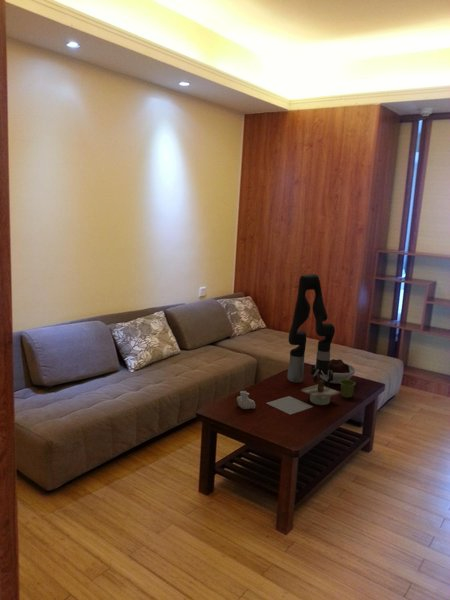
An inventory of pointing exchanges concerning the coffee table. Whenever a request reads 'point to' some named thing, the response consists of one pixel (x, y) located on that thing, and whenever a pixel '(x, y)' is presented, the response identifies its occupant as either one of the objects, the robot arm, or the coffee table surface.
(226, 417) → the coffee table surface
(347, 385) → the plant pot
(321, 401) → the bowl
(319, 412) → the coffee table surface
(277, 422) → the coffee table surface
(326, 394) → the cover board
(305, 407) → the tray
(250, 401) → the bust
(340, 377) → the white round tub
